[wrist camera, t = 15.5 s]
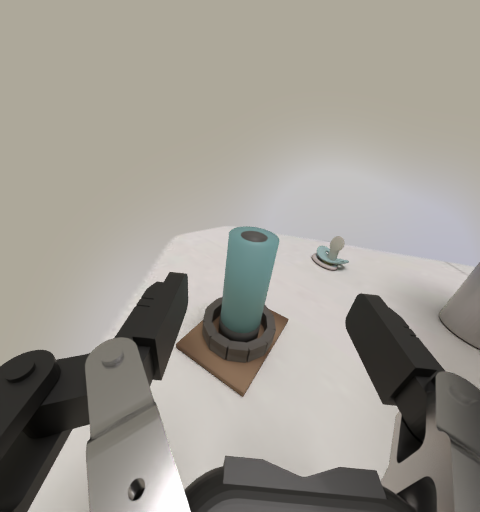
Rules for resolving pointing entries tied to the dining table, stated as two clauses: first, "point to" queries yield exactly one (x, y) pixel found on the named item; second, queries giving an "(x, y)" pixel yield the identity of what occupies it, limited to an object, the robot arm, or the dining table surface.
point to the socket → (231, 347)
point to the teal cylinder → (246, 282)
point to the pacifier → (330, 254)
